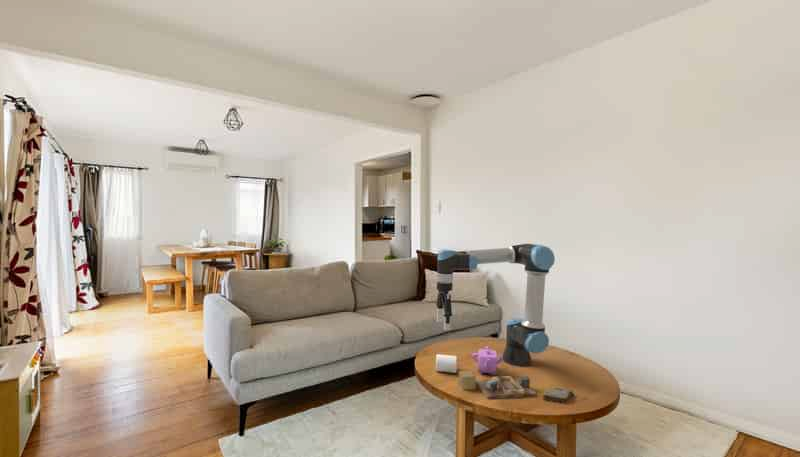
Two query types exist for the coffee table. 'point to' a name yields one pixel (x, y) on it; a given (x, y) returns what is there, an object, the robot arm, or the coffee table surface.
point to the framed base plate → (505, 389)
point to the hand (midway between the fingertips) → (443, 325)
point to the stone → (558, 395)
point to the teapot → (487, 361)
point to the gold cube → (466, 380)
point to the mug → (446, 363)
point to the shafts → (493, 383)
